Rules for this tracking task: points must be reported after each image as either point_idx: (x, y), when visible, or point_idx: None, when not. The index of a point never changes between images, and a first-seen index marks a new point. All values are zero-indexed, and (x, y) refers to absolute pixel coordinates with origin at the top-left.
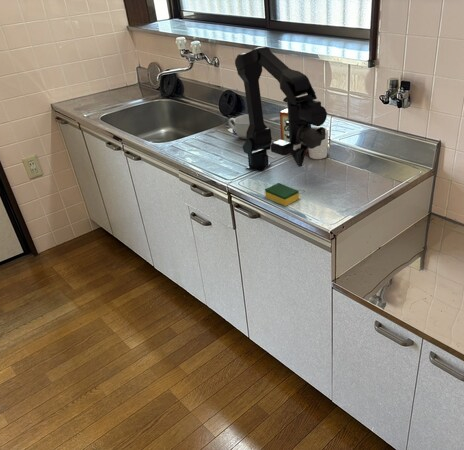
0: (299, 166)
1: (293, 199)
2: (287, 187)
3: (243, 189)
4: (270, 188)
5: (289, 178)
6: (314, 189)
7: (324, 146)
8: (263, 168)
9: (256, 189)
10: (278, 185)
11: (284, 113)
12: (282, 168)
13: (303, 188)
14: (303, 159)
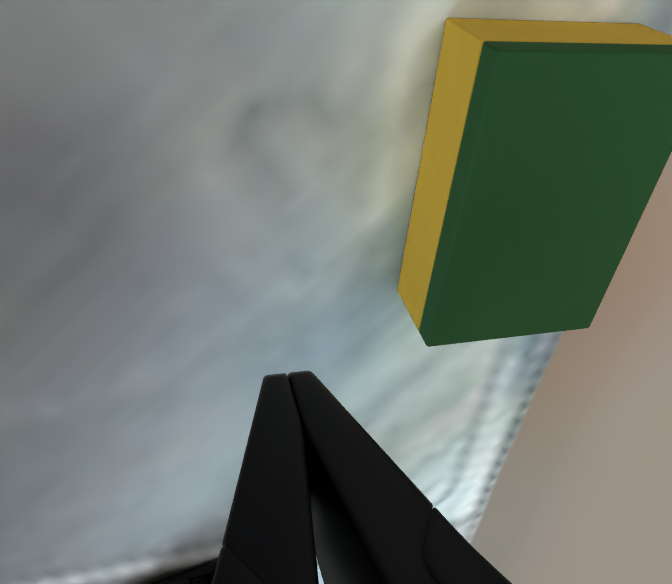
0: (312, 384)
1: (544, 27)
2: (478, 217)
3: (493, 440)
4: (561, 309)
5: (148, 403)
6: (119, 50)
7: None
8: (197, 576)
9: (456, 402)
10: (478, 308)
11: None
12: (66, 539)
13: (203, 174)
14: (262, 478)
